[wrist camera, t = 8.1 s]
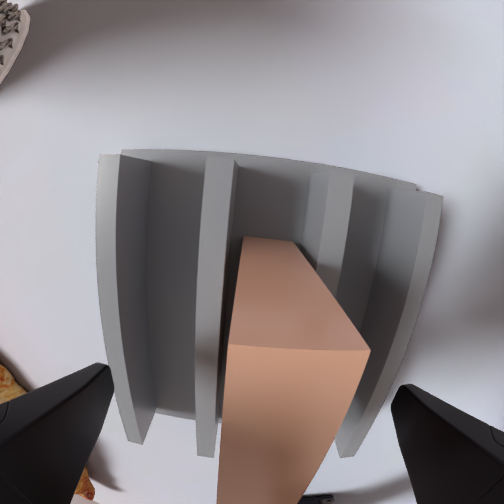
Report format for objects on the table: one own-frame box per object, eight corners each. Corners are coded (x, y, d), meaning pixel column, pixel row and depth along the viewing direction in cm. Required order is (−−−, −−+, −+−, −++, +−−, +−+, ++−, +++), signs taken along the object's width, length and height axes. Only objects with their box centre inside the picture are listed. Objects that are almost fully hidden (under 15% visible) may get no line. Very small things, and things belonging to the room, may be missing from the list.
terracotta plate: (269, 379, 13) (282, 524, 5) (229, 376, 13) (215, 522, 5) (292, 241, 11) (370, 350, 4) (243, 235, 11) (227, 343, 3)
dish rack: (345, 413, 15) (362, 459, 11) (138, 397, 15) (117, 442, 11) (405, 184, 12) (457, 186, 8) (130, 152, 11) (84, 141, 7)
